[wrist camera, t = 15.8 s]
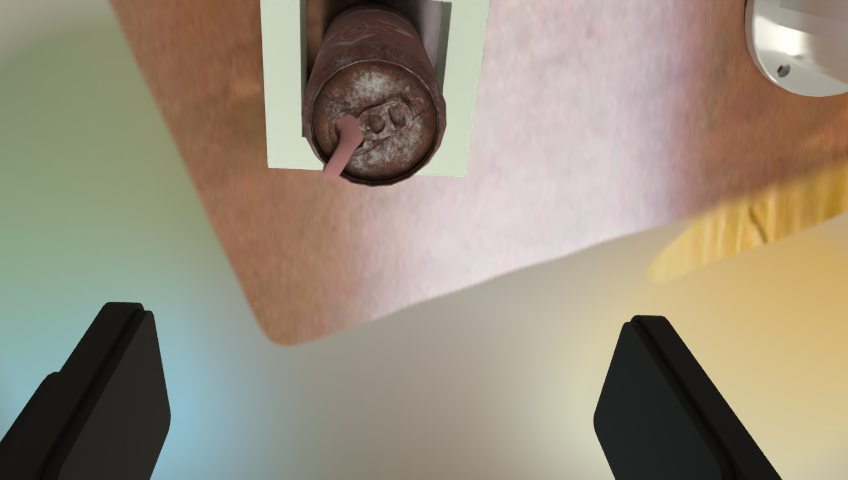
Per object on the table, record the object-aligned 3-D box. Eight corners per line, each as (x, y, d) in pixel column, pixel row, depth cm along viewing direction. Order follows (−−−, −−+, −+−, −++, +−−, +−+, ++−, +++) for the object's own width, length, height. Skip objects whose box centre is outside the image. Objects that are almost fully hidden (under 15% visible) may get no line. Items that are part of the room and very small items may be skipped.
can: (302, 71, 36) (269, 154, 24) (355, -22, 34) (348, 18, 22) (385, 122, 38) (394, 223, 26) (440, 38, 36) (478, 105, 24)
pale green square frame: (481, -42, 34) (494, -36, 30) (457, 153, 40) (466, 177, 36) (269, -62, 32) (257, -58, 29) (277, 143, 38) (268, 167, 35)
